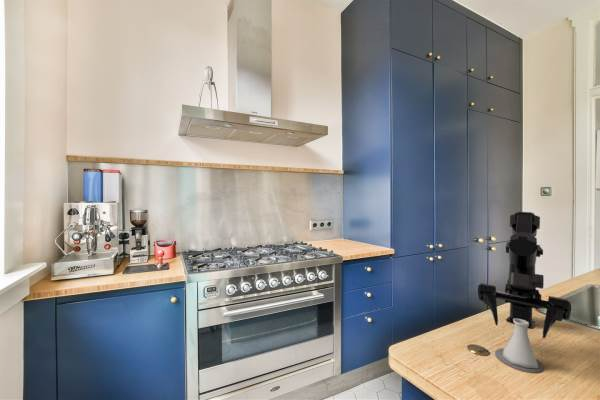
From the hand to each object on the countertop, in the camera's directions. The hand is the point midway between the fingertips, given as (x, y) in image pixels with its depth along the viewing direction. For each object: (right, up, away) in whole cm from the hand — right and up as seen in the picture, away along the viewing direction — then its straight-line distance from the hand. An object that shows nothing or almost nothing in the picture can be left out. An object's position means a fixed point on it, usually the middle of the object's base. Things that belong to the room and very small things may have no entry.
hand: (519, 330), depth 67 cm
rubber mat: (+1, -8, +1) cm, 8 cm away
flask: (+1, -8, +1) cm, 8 cm away
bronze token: (-7, -8, +6) cm, 12 cm away
